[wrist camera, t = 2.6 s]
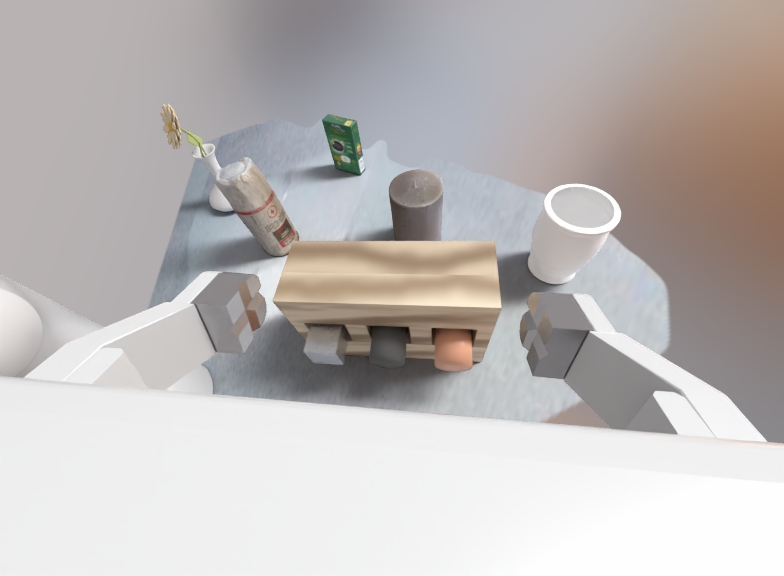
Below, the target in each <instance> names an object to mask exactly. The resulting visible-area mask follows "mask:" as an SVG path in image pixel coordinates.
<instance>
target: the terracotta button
mask: <svg viewBox="0 0 784 576" xmlns="http://www.w3.org/2000/svg"><path fill="white" fill-rule="evenodd" d="M435 367H437V368H438V369H441V370H445V371H452V372H459V371H466V370H469V369H471V368H472V367H473V363H472V338H471V329H449V328H436V330H435Z"/></svg>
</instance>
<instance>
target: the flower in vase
mask: <svg viewBox="0 0 784 576" xmlns="http://www.w3.org/2000/svg"><path fill="white" fill-rule="evenodd" d="M162 108H163V111H164V113H165V114H164V113H163V112H162V111H161V116H162V118H163V122H164V123H165V126H164V127H163V130H164V132H166V133H167V132H168V135H167V138H168V143H169V144H171V143H172V146H173V148H174V149H175V147H176V149H177V148H179V147H180V145H181V136H180V135H181V130H182V131H184V132H185V133H187V138H188V141H189V143H191V144H193V145H195V146H198V147H197V148H195V149H194V150H193V152H192V156H193V157H194V158H196V159H198V160H200V161H202V162H203V163H204V164H205V165H206V166H207V167H208V168H209V169H210V171H211V172H212V174H213V175H214V177H215V175H216V172H217V171H218V170H220V169H221V168H220V166H219V164H218V162H217V160H216V158H215V154H214V150H215V147H214V145H212V144H203V145H202V139H201V138H200V137H198V136H196V135H194V134H192V133H190V132H189V131H186V130H184V129H182V128H181V127H179V123H178V118H177V116H175V113H174V110H173V109H172V107H171V106H169V105H168V104H167V106H165V105H164V104H163V107H162ZM209 201H210V205H211V206H212V207H213V208H214V209H216V210H219V211H233V208H232V207H231V205H230V203H229V202H228V200H227V199H226V198H225V197H224V195H223V194H222V192H221V191H220V190H219V188H218V187H217V185H216V183H215V185H214V186H213V188H212V190H211V192H210V195H209Z"/></svg>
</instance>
